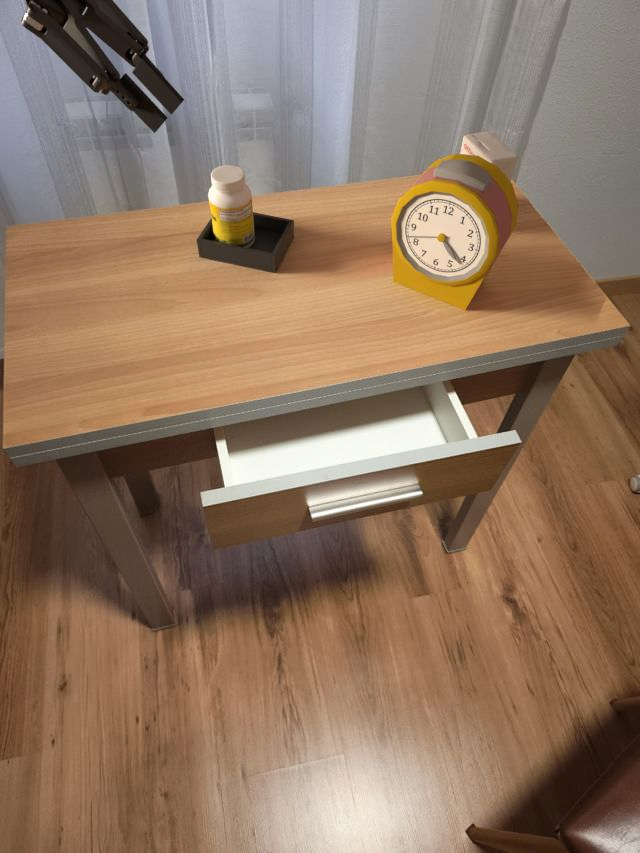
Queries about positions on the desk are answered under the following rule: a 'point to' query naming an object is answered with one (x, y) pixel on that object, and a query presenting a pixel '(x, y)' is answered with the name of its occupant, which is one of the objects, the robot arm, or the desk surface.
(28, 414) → the desk surface
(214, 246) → the bin
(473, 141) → the ink box
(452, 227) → the alarm clock
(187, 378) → the desk surface
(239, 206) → the pill bottle
